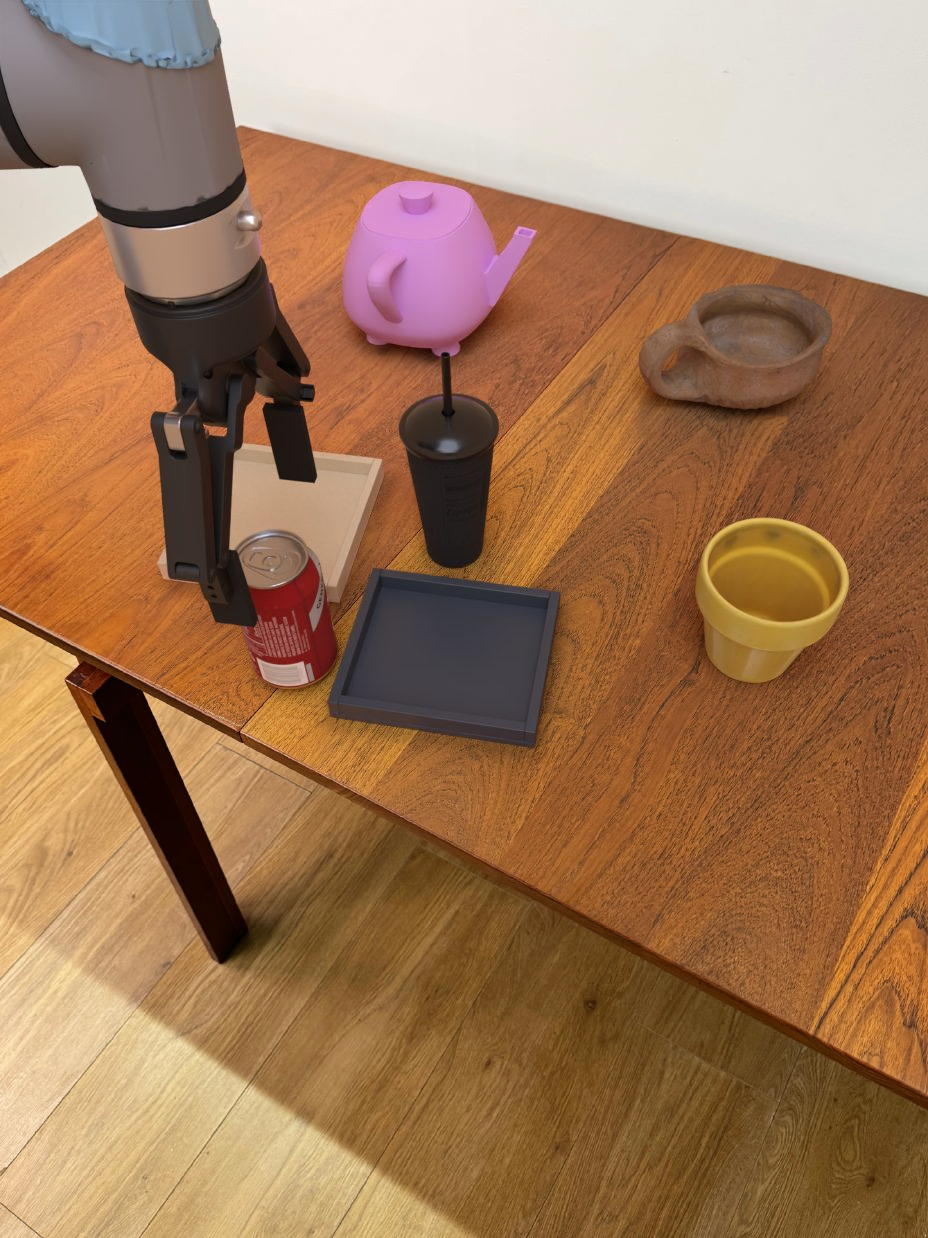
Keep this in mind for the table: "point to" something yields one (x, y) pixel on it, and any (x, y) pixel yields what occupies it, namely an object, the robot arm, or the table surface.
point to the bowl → (739, 348)
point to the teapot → (425, 267)
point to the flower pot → (767, 595)
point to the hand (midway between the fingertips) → (269, 545)
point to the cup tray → (305, 507)
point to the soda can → (287, 610)
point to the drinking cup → (451, 469)
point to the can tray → (448, 657)
